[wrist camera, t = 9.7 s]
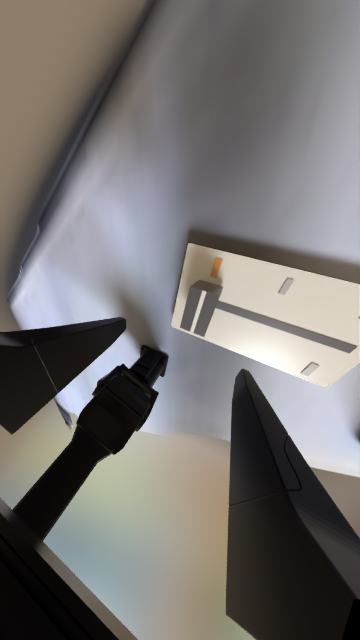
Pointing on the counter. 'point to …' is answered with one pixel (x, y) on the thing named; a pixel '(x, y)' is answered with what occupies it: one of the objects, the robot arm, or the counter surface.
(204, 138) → the counter surface
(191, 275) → the panel
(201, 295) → the block
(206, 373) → the counter surface
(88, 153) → the counter surface
